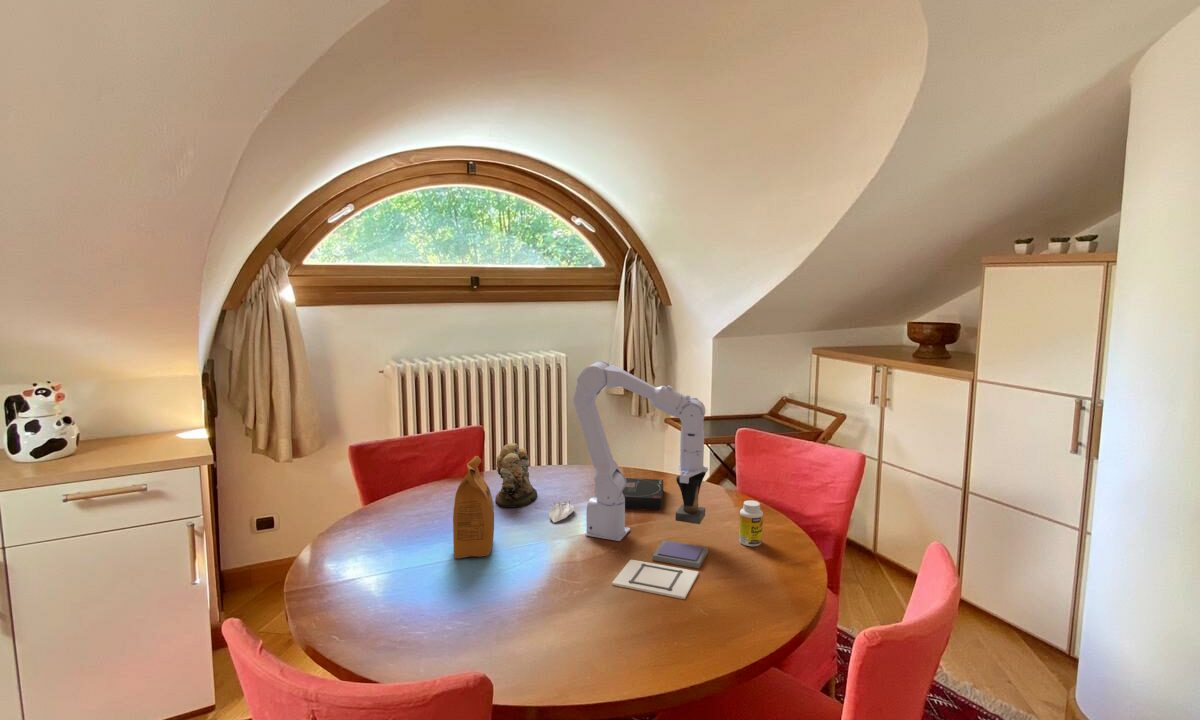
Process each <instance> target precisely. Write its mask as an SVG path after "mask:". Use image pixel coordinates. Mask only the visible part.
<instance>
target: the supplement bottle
mask: <svg viewBox="0 0 1200 720" xmlns="http://www.w3.org/2000/svg"><path fill="white" fill-rule="evenodd" d="M760 503H761V502H759V501H757V500H745V501H744V502H743V508H741V509H740V510H739V530H738V541H739V543H740V544H741V545H744V546H748V547H758V546H761V544H762V543H763V542H762V541H763V522H764V521H763V520H764V512H763V511H762V510H761V504H760Z"/></svg>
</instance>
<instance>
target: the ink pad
mask: <svg viewBox="0 0 1200 720" xmlns="http://www.w3.org/2000/svg"><path fill="white" fill-rule="evenodd" d="M708 554H709V547H706V546H701V545H696V544H695V545H694V544H689V543H682V542H676V541H670V540H665V539H664V540H662V542H661V543H660V545H659V546H658V547H657V549H656V550H655V551H654V553H653V554H652V561H655V562H660V563H666V564H672V565H678V566H683V567H688V568H693V569H700V568H701V566H702V564H703V562H704V560H705V559H706V557H707V555H708Z"/></svg>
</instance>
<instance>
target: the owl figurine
mask: <svg viewBox="0 0 1200 720" xmlns="http://www.w3.org/2000/svg"><path fill="white" fill-rule="evenodd" d="M529 466H530V460H529V456H528V453H527V450H526V449H525V448H523V447H522V448H520V446H519V445H518V444H517V443H515V442H511V443H507V444H504V446H502V448H501V449H500V452H499V454H498V456H497V457H496V470H497V474H498V475H499V476H500V479H502V483H501V488H500V490H499V492H497V494H496V495H495V504H496V505H497V506H498V507H502V508H524V507H526V506H528V505H530V504H532V503H533V502H535V501H536V499H537V497H538V492H537V490H536V488H534V487H533V485H532V484H531V481H530V472H529Z"/></svg>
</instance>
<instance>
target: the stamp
mask: <svg viewBox="0 0 1200 720" xmlns="http://www.w3.org/2000/svg"><path fill="white" fill-rule="evenodd" d="M698 489H699V487H697V490H696V494H695V500H694V504H693V506H692V507H691V506H685V505H684V502H683V504H681V505H680V506H679V508H678V509H677V510H676V511H675V522H683V523H688V524H689V523H690V524H693V525H694V524H695V525H701V523H702V521H703V520H704V518H705V517H706V507H701V506H699V495H698Z"/></svg>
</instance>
